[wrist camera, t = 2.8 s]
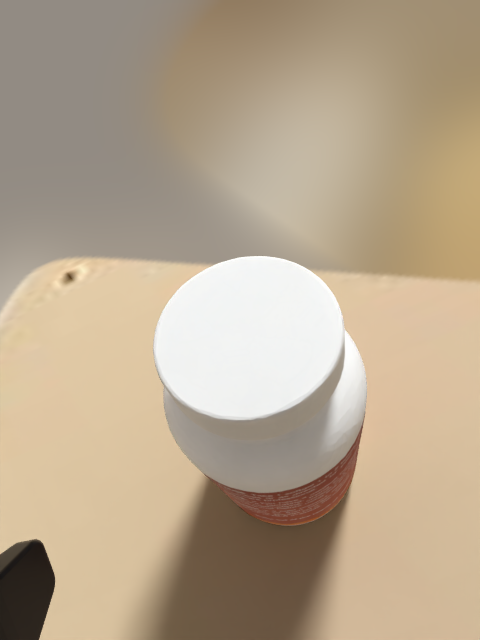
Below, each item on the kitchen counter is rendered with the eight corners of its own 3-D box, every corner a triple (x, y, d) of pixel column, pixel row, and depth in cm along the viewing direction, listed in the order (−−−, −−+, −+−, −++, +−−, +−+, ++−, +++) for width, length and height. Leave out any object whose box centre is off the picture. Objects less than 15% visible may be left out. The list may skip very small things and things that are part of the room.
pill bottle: (382, 440, 19) (435, 297, 10) (301, 563, 17) (268, 531, 8) (273, 367, 22) (232, 203, 12) (192, 464, 20) (74, 355, 10)
